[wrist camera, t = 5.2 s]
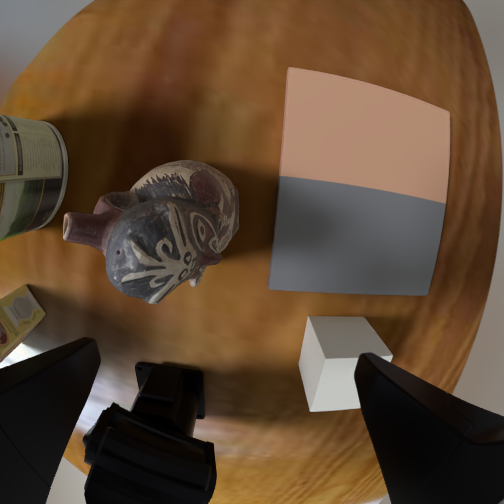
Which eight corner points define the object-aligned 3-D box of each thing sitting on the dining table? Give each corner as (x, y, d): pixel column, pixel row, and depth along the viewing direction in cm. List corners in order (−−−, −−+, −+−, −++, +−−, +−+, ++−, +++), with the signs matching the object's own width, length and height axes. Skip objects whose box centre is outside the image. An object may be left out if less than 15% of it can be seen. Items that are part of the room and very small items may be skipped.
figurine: (207, 277, 21) (166, 384, 9) (130, 228, 20) (23, 282, 8) (260, 195, 19) (275, 219, 8) (175, 144, 18) (84, 106, 7)
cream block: (350, 363, 23) (371, 406, 17) (298, 364, 23) (310, 411, 17) (363, 316, 22) (393, 355, 16) (307, 315, 22) (325, 358, 16)
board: (421, 291, 21) (427, 295, 20) (268, 284, 21) (269, 289, 20) (443, 113, 17) (449, 112, 16) (287, 72, 17) (288, 67, 16)
